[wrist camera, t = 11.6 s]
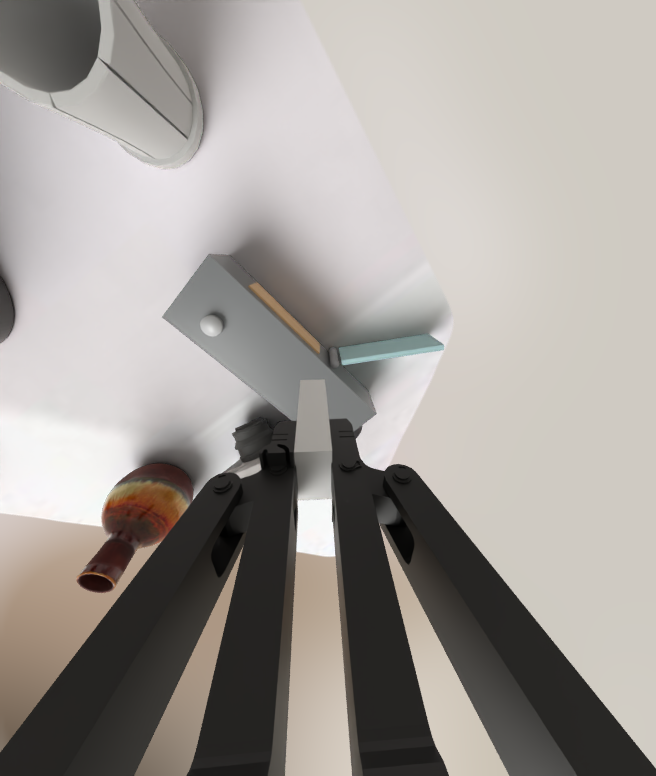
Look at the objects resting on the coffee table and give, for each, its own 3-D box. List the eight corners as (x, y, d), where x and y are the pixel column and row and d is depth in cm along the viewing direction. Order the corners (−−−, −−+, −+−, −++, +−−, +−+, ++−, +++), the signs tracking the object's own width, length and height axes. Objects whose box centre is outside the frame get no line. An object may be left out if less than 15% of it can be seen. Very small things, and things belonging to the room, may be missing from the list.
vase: (163, 443, 40) (80, 540, 26) (215, 486, 44) (167, 589, 31) (117, 474, 43) (19, 577, 29) (170, 511, 47) (107, 617, 33)
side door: (427, 332, 33) (444, 343, 29) (427, 341, 33) (443, 353, 29) (328, 347, 34) (329, 360, 29) (329, 356, 34) (331, 370, 30)
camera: (335, 450, 40) (328, 477, 30) (244, 486, 42) (208, 523, 32) (311, 395, 40) (296, 403, 30) (221, 433, 42) (178, 453, 32)
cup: (149, 203, 27) (32, 165, 16) (66, 98, 23) (-156, -42, 12) (226, 129, 24) (150, 26, 13) (146, 0, 21) (-41, -278, 10)
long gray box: (189, 307, 31) (157, 318, 25) (230, 253, 29) (206, 252, 23) (335, 430, 40) (338, 461, 34) (376, 397, 37) (387, 424, 31)
